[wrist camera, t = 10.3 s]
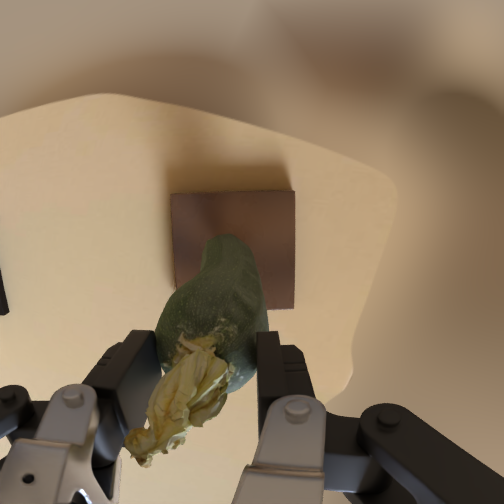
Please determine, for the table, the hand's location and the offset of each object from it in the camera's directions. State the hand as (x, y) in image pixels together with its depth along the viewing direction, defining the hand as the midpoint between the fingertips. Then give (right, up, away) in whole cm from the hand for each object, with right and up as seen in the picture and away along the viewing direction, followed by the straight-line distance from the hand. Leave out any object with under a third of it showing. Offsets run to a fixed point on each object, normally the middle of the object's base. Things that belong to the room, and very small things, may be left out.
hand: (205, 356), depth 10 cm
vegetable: (0, +3, +15) cm, 15 cm away
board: (0, +4, +17) cm, 17 cm away
